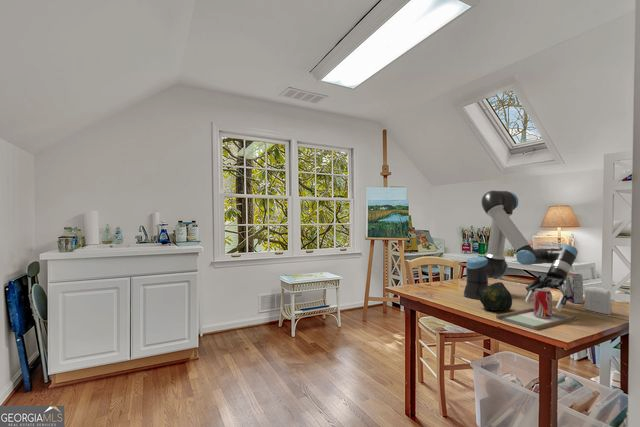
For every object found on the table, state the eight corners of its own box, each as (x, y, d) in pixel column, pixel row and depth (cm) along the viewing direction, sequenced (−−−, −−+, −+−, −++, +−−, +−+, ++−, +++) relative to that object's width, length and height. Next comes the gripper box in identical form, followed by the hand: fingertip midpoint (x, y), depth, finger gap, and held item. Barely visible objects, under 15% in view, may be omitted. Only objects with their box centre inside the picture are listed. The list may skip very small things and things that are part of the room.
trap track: (496, 318, 149) (496, 315, 149) (535, 309, 162) (535, 307, 162) (536, 330, 132) (536, 326, 132) (576, 319, 146) (576, 316, 146)
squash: (469, 297, 167) (488, 278, 160) (483, 294, 176) (502, 276, 169) (490, 320, 158) (511, 301, 151) (503, 316, 167) (524, 298, 160)
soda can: (530, 314, 153) (529, 288, 154) (545, 314, 153) (544, 288, 153) (540, 319, 146) (539, 291, 147) (556, 319, 146) (555, 291, 146)
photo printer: (612, 314, 154) (612, 288, 155) (608, 315, 153) (607, 289, 153) (587, 308, 164) (587, 284, 164) (583, 309, 162) (582, 285, 162)
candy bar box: (562, 298, 185) (561, 270, 186) (571, 299, 184) (571, 270, 185) (573, 303, 174) (572, 273, 175) (583, 303, 173) (583, 274, 174)
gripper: (592, 280, 146) (575, 317, 139) (535, 273, 168) (518, 304, 161) (585, 269, 144) (568, 307, 137) (529, 263, 166) (511, 295, 159)
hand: (541, 306), depth 149 cm, fingers open, 13 cm apart
